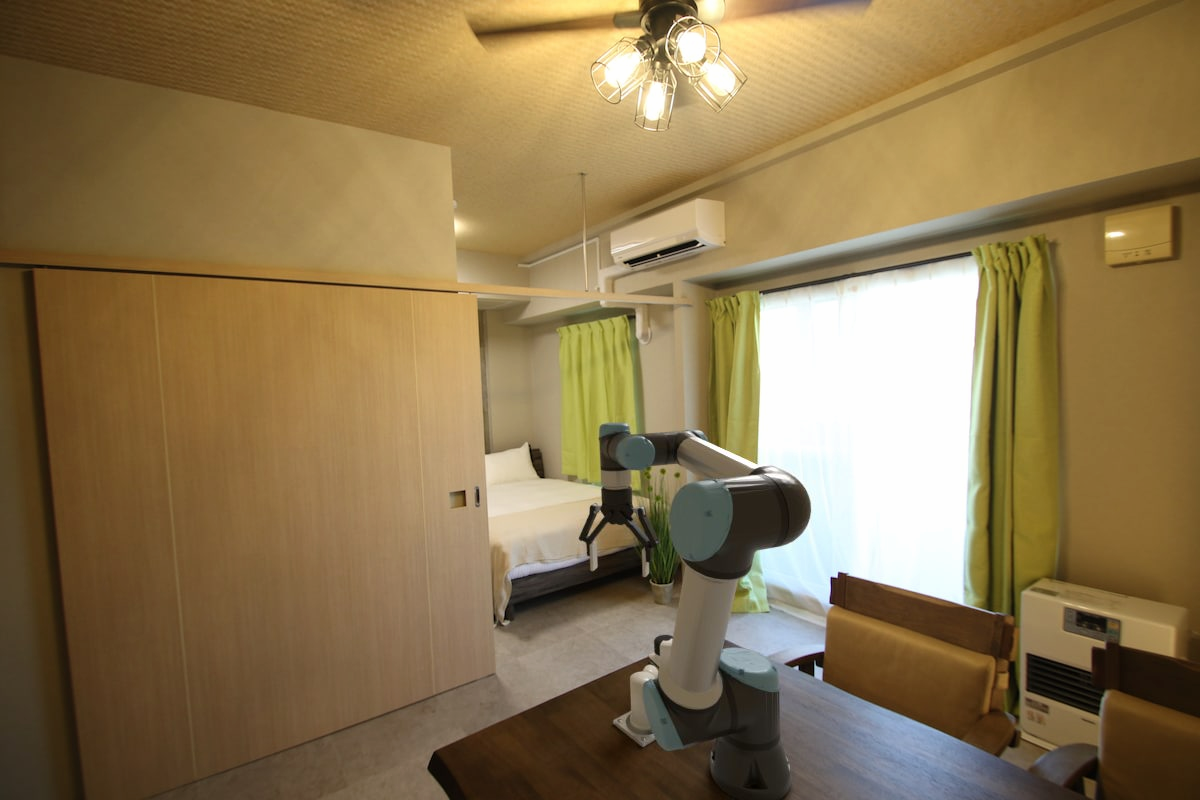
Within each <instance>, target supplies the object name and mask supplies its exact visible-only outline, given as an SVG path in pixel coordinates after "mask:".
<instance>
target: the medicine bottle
mask: <svg viewBox="0 0 1200 800" xmlns="http://www.w3.org/2000/svg"><path fill="white" fill-rule="evenodd" d="M672 640H673V635H670V634H660V635H658V636H656V637H655V638H654V640H653V653H650V654H648V655H647V665H653V666H655V667H656V668H657V670H658V671H659V667H660V665H661V663H662V661H663V660H664V659H665V658H666V657H668V656H670V651H671V646H672Z"/></svg>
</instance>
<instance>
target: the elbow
mask: <svg viewBox="0 0 1200 800" xmlns="http://www.w3.org/2000/svg"><path fill="white" fill-rule="evenodd" d="M657 676H658V670H657V668H656V667H655V666H653V665H648V664H647V665H646V666H645V667H644V668H643V670H642V671H637V672H634V673H632V674H631V675H630V676H629V677H630V678H629V687H630V711H631V716H630V724H631V726H632V727H633V728H634V729H636V730H639V731H650V730H651V727H650V724H649V722H648V718H647V715H646V711H645V707H644V702H643V695H642V687H643V684H644V683H645V682H646V681H648V680H649V679H652V680H653V679H656V678H657Z"/></svg>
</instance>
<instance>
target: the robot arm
mask: <svg viewBox="0 0 1200 800" xmlns="http://www.w3.org/2000/svg"><path fill="white" fill-rule="evenodd" d="M630 428H631V427H630V425H629V424H628V423H627V422H619V421H617V422H604V423H601V425H599V427H598V443H599V445H598V446H599V464H600V465H599V466H600V469H599V470H600V485H601V486H602V487H601V489H600V494H601V505H600V504H598V503H596V502H594V503H593V504H591V505H589V514H588V516H587V518H586V520H585V523H584V525H583V527H582V530H581V532H580V534H579V536H578V540H579V541H580V542H584V543H585V545H586V546H585V547H586V555H587V557H589V566H590V571H591V572H594V571H595V570H596V569H597V568H598V542H597V541H595V539H596V538H597V537H598V536H599V534H600V533H601V532H602V530H603V529H604V528H605V527H606V525H608V523H609V524H610V525H613V526H614V525H617V526H624V525H625V527H627V528H628V529H629V530H630V531H631V532H632V534H633V535H634V536H635V537H636V539H637V541H639V543H640V544H641V545H642V546H643V548H642V549H641V562H642V563H641V565H642V578H647V576H648V575H649V574H650V563H651V562H652V561H653V549H655V548H657V547H658V546H659V545H660V544H661V542H660V539H659V538H658V536H657V534H656V531H655V530H654V528H653V526H652V524H651V523H652V522H650V520H649V518H648V516H647V510H646V507H645V506H644V505H641V506H639V507H634V505H633V488H632V487H631V485H632V484H633V483H632V481H633V480H632V471H639V472H640V471H644V470H646V469H648V468H649V467H657V466H667V465H669V466H670V465H679V466H680V467H683V468H684V469H685V470H688V472H691V473H692V474H694V475H695V476H697V477H699V478H701V479H702V480H700V481H693V482H689V483H687V484H684V485H683V486H681V487H680V489H678V491H677V492H676V493H675V494H674V497H673V499H672V502H671V504H670V508H669V514H668V515H669V516H668V525H669V526H670V530H669V536H670V540H671V543H672V546H673V547H674V550H675V551H676V552H677V554H678V555H679V557H680V559H681V561H682V562H683V564H684V565H685V568H684V573H683V578H682V579H683V580H682V583H681V584H682V585H681V590H680V595H679V601H678V607H677V611H676V612H677V613H676V618H675V625H674V629H673V634H672V636H673V640H672V646H671V651H670V656H668V657H666V658H665V659H664V660H663V661H662V663H661V665H660V667H659V671H658V676H657V678H656V679H653V680H652V679H649V680H648V681H646V682H645V683H644V684H643V687H642V695H643V702H644V707H645V711H646V715H647V718H648V722H649V724H650V727H651V730H652V732H653V734H654V737H655V739H656V740H655V741H656V742H657V744H658V745H659V747H661V748H662V749H663V750H664V751H666V752H667V751H668V752H671V751H677V750H684V749H686V748H689V747H692V746H696V745H699V744H703V743H705V742H706V743H707V742H709V741H713V740H714V743H713V746H712V749H711V753H710V757H709V758H710V759H709V760H710V763H709V764H710V773H711V777H712V779H713V781H714V783H715V784H716V785H717V786H718V787H719V788H720V790H722V791H723V792H724V793H725V794H726V795H728V796H730V797H732V798H734V799H736V800H782V798H785V796H786V795H787V794H788V792H789V791H790V789H791V785H792V769H791V765H790V762H789V759H788V757H787V756H786V753H785V749H784V746H783V745H784V744H783V742H782V739H781V713H780V712H781V711H780V708H781V707H780V691H781V686H780V678H779V672H778V667H777V665H776V664H775V663H774V662H773V661H772V660H771V659H770V658H769V657H767V656H766V655H764V654H762V653H760V652H759V651H755V650H752V649H748V648H744V647H725V648H724V643H725V640H726V634H727V632H728V627H729V622H730V618H731V612H732V609H733V605H734V600H735V596H736V595H735V594H736V591H737V586H738V582H739V580H741V579H743V578H745V577H746V576H747V575H748V574H749V573H750V572H751V569H752V566H753V563H754V557H755V554H756V552H757V551H762V550H763V551H764V550H767V549H775V548H780V547H782V546H786V545H787V546H788V545H789V544H790V543H793V542H795V540H797V539H799V537H801V536H802V534H803V533H804V532H805V530H806V528H807V527H808V526H809V522H810V520H811V514H812V502H811V499H810V495H809V493H808V491H807V489H806V488H805V486H804V485H803V483H802V482H801V481H800V480H799V479H798V477H796V476H794V475H792V474H791V473H790V472H788V471H785V470H784V469H781V468H780V467H777V466H774V465H771V464H761V465H758V464H756V463H754V462H752V461H750V460H748V459H746V458H744V457H741V456H740V455H736V454H735V453H732V452H730V451H728V450H725V449H724V448H721V447H719V446H717V445H715V444H713V443H711V442H709V439H708V438H707V436H706V435H705V434H706V433H704V431H702V430H698V429H697V430H695V429H685V430H675V431H665V432H650V433H633V434H632V433H631V430H630ZM599 513H601V514H602V515H603V518H602V519H601V520H600V521H599V523H598V525H597V526H596V527H595V528H594V529H593V530H592V532H591V529H592V526H593V525H594V523H595V519H596V517H597V515H598V514H599ZM634 514H635V516H636V517H638V520H639V522H640V524H641V527H642V528H643V529H642V528H641V527H640V526H639V524H638V523H637V522H636V520H635V518H634V517H633V515H634ZM643 530H644V531H643ZM590 532H591V533H590ZM589 533H590V534H589Z"/></svg>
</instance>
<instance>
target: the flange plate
mask: <svg viewBox="0 0 1200 800" xmlns="http://www.w3.org/2000/svg"><path fill="white" fill-rule="evenodd" d="M630 716H631V710H630V711H628V712H626V713H624V714H622V715H620V716H619V717H616V718H615V719H613V720H612V722H613V725H614V726H615V727H617V729H619V730H620V731H622V732H623V733H624V734H626V735H627V736H628V737H629V738H630V739H632V740H633V741H634V742H635V743H636V744H638V745H639V746H640V747H642V748H644V747H647V745H649V744H651V743H652V742H655V741H657V740H656V739H655V737H654V734H653V732H652V730H650V731H639V730H636V729H634V728H633V727H632V726H631V724H630Z"/></svg>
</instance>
